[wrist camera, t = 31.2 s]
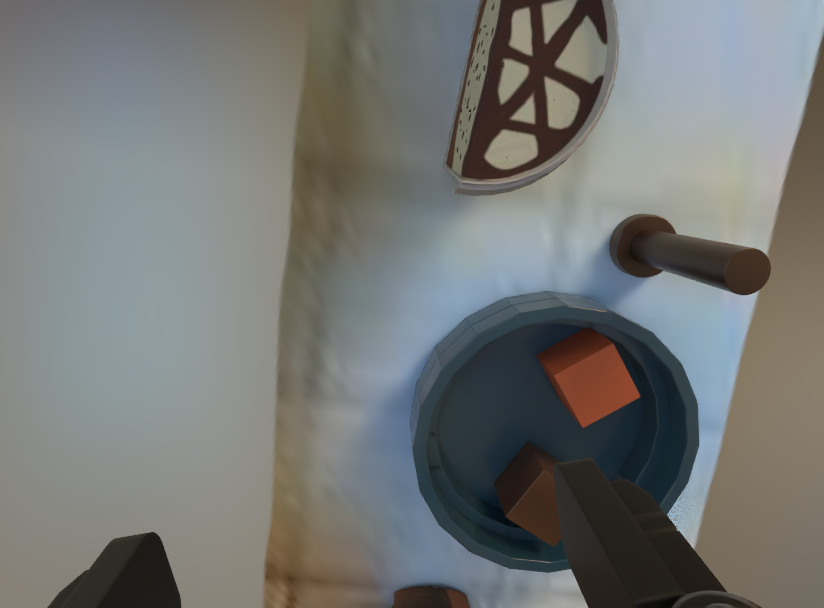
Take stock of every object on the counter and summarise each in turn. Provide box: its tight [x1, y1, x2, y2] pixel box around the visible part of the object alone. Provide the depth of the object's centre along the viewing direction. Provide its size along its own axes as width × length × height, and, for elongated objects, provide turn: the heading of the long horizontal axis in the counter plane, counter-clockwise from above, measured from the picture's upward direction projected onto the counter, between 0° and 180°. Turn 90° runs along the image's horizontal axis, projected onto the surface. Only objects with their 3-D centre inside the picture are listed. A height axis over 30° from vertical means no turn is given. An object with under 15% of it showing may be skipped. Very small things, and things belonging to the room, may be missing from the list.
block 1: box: [494, 441, 562, 547], centre depth 36 cm, size 4×4×4 cm
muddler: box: [610, 214, 771, 295], centre depth 30 cm, size 4×4×11 cm
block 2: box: [536, 328, 640, 428], centre depth 34 cm, size 4×4×4 cm
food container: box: [443, 0, 619, 196], centre depth 28 cm, size 12×6×10 cm, turn 168°
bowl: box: [410, 291, 699, 573], centre depth 36 cm, size 18×18×5 cm
